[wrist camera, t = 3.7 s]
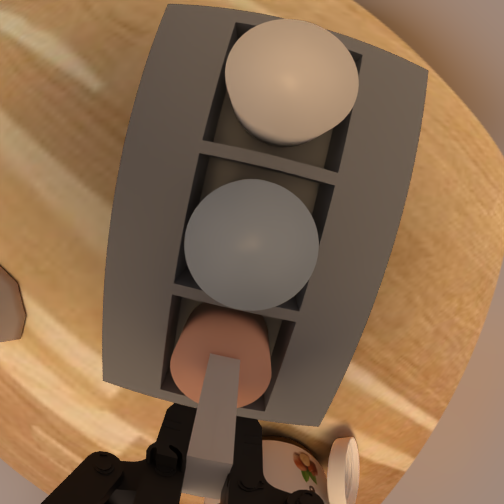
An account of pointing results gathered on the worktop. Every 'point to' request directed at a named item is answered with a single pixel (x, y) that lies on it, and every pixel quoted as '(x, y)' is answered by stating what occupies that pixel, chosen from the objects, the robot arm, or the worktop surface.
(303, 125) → the button ivory
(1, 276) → the flask
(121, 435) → the worktop surface
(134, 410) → the worktop surface
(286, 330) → the panel
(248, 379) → the button terracotta
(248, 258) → the button slate
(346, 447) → the spread jar
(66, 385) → the worktop surface
